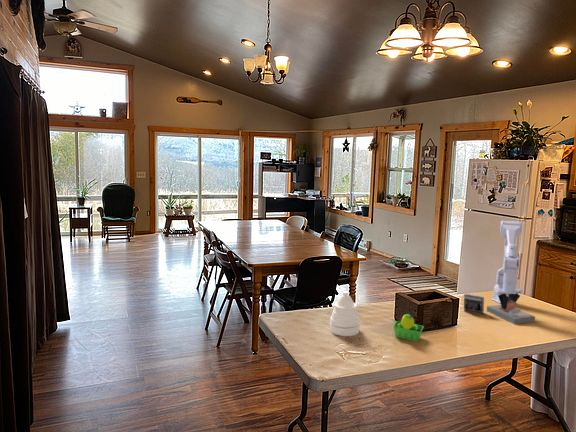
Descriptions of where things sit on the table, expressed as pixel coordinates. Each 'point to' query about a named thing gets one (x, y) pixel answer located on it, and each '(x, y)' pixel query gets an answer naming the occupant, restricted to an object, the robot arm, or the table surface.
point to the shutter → (518, 313)
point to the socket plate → (509, 315)
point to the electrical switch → (473, 303)
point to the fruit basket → (407, 328)
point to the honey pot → (344, 317)
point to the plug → (509, 305)
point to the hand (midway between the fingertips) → (507, 308)
